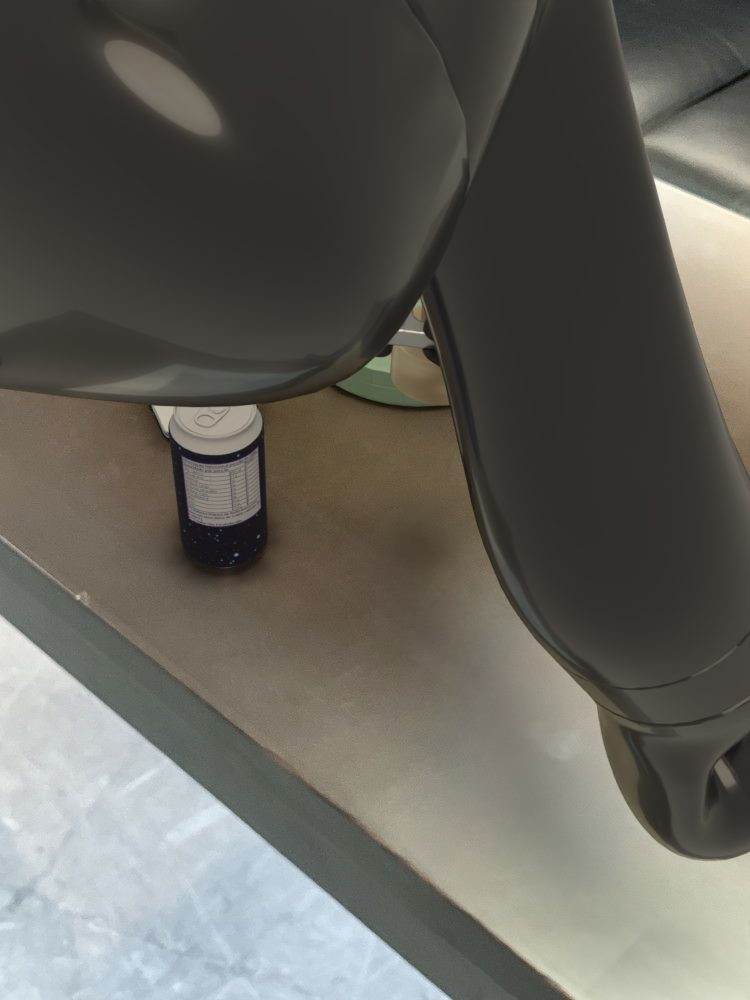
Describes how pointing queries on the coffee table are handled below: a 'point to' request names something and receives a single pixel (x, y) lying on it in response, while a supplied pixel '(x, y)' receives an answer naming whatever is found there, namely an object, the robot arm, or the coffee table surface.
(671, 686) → the robot arm
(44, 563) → the coffee table surface
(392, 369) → the brush
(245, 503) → the beverage can
